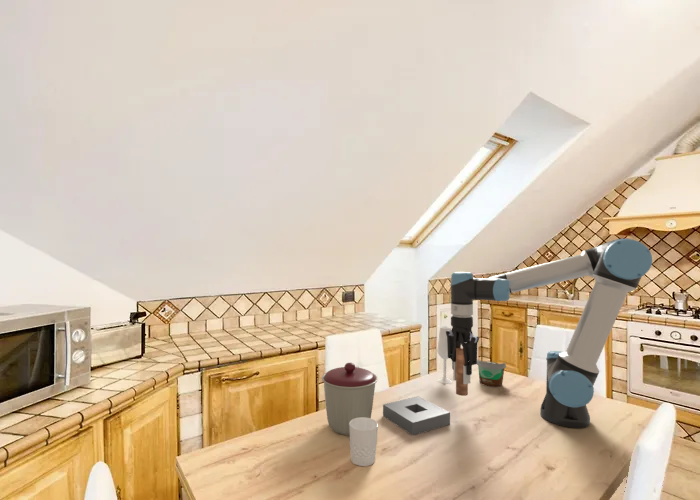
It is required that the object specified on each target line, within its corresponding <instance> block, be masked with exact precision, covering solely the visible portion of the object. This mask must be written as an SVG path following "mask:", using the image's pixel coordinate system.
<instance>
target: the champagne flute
mask: <svg viewBox="0 0 700 500" xmlns="http://www.w3.org/2000/svg"><path fill="white" fill-rule="evenodd" d="M450 330H452V326H447V325H443V326H439V331H438V332H439V334H438V341H437V342H438V343H437V354H438V356H439V357H440V358H441V359H443V369H442V371H443V374H442V375H443V376H442V377H440V378H438V379H437V380H436V382H438V383H440V384H444V385H449V384H452V383H453V380H451V379H450V378H448V377H447V360H448V359H449V358H448V348H447V335H446V331H450Z"/></svg>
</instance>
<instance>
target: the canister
mask: <svg viewBox="0 0 700 500" xmlns="http://www.w3.org/2000/svg"><path fill="white" fill-rule="evenodd" d="M321 380H322V382H323V387H324V390H323V391H324V399H325V401H324V402H325V411H326V418H327V423H328V426H329V427H330V430H332V431H333V432H334V433H336V434H339V435H344V436H350V430H349V423H350V421H351V420H352V419H355V418H360V417H366V418H371V419H372V414H373V413H372V412H373V411H372V410H373V406H374V397H375V389H376V383H377V382H378V380H379V379H378V376H377V375H376V374H375V373H373V372H372V371H370V370H368V369H366V368H362V367H358V366H356V365H355V364H354V363H353V362H346V363H345V365H344V366H342V367H336V368H332V369H330V370H328V371H327V372H325V373H323V374H322V375H321Z"/></svg>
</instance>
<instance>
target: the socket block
mask: <svg viewBox="0 0 700 500" xmlns="http://www.w3.org/2000/svg"><path fill="white" fill-rule="evenodd" d="M382 416H383V417H384V418H386V419H387V420H388V421H389V422H392V423H393V424H395V425H396V426H397V427H399V428H401V429H402V430H403V431H405V432H407V434H410V435H411V436H416V435H418V434H422V433H425V432H429V431H432V430H436V429H439V428H443V427H446V426H448V425H449V426H450V425H451V412H450V411H448V410H446V409H444V408H443V407H440V406H438V405H436V404H434V403H433V402H431V401H429V400H426V399H425V398H423V397H421V396H419V395H417V396H412V397H408V398H404V399H401V400H396V401H391V402H388V403H383V404H382Z"/></svg>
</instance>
